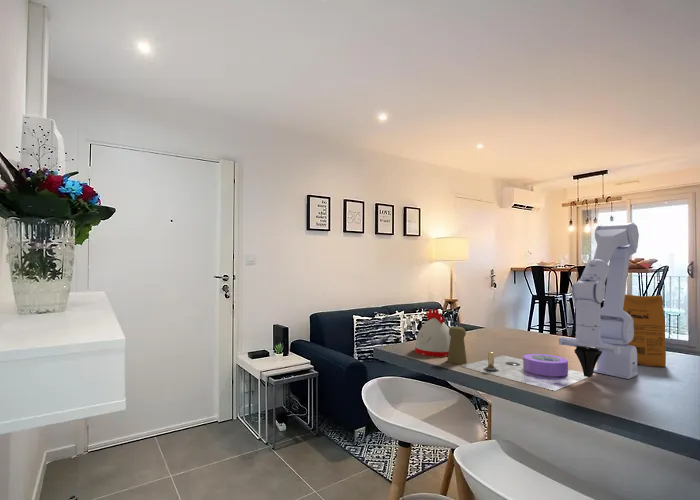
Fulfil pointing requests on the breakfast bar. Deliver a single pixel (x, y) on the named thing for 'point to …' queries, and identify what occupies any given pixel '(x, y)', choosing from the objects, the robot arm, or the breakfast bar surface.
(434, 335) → the kitchen timer
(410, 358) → the breakfast bar surface
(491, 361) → the fixed brass pin
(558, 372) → the masking tape
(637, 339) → the coffee package
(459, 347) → the cork
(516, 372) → the light grey flat board
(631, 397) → the breakfast bar surface
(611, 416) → the breakfast bar surface
